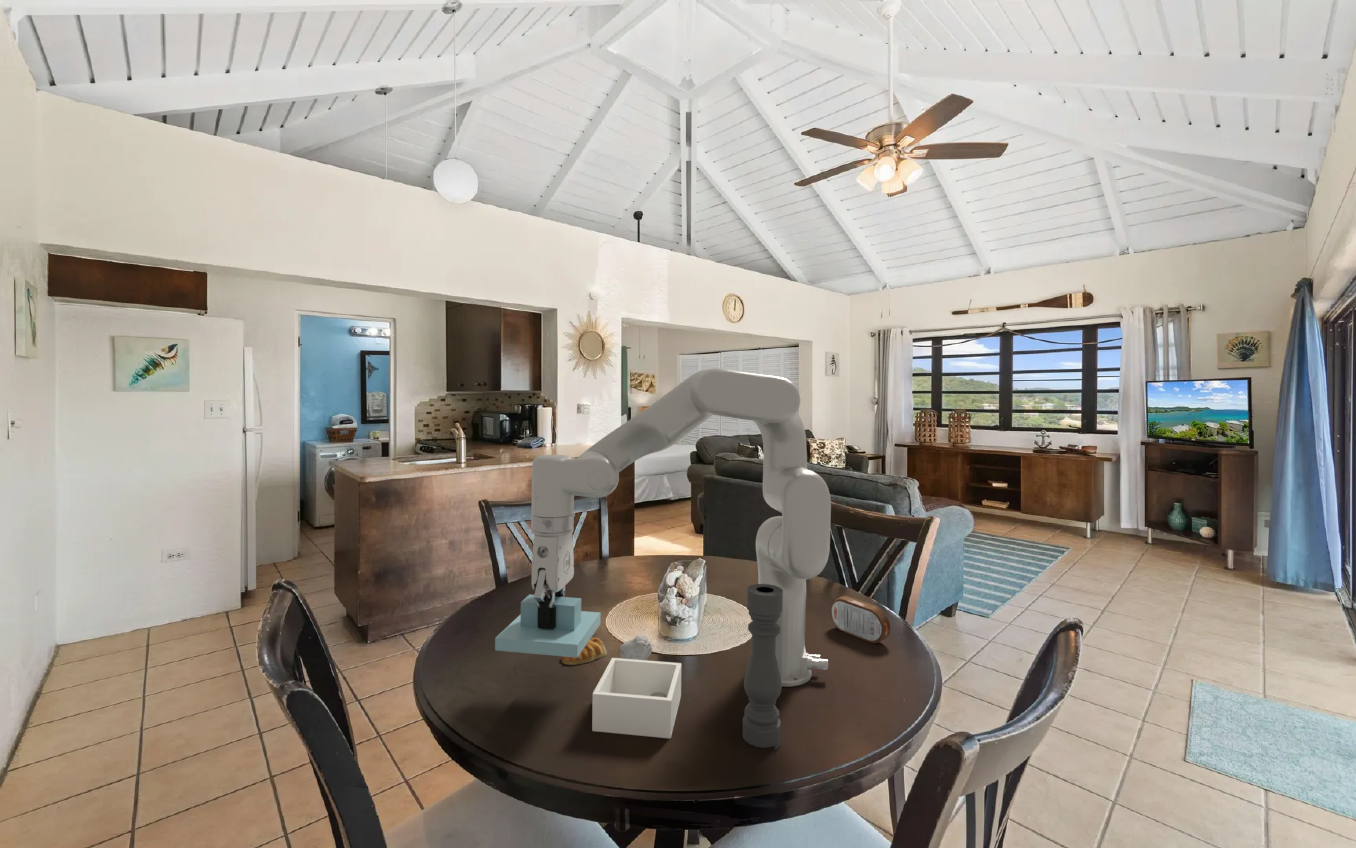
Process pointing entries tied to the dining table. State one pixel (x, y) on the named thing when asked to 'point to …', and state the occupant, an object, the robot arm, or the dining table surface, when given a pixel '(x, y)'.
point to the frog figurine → (636, 648)
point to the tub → (637, 698)
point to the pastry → (587, 653)
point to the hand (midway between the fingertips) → (551, 622)
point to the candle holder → (763, 667)
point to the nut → (658, 695)
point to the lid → (559, 641)
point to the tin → (860, 619)
